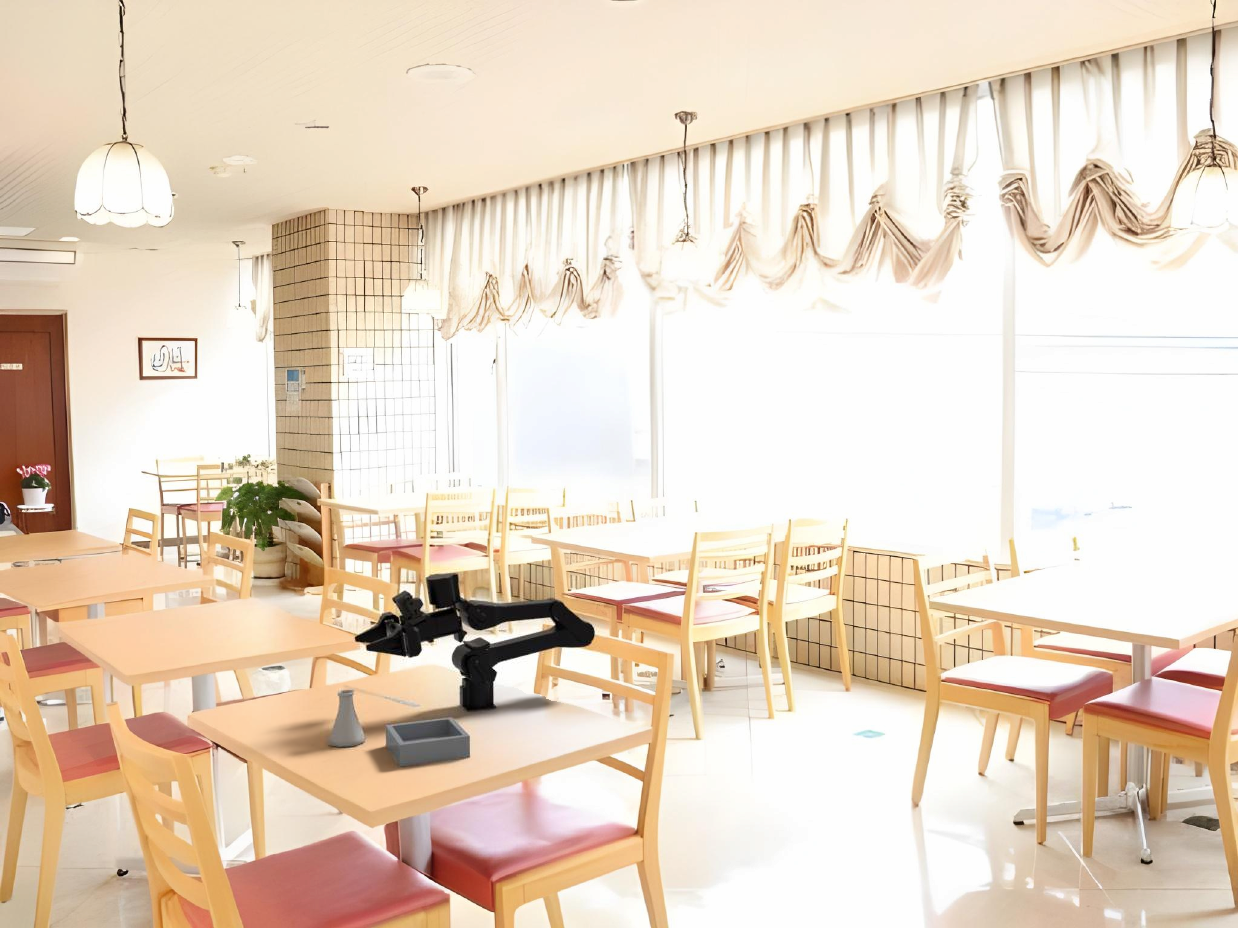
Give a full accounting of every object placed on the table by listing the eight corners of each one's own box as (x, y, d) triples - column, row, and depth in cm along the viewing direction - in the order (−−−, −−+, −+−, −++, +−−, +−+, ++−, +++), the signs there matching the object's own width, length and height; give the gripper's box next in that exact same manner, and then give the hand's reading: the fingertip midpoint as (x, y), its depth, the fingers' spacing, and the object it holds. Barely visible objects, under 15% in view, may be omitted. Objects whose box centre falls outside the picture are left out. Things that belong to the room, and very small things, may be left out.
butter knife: (411, 706, 227) (422, 702, 230) (337, 687, 245) (347, 684, 247) (411, 709, 227) (422, 705, 230) (337, 690, 245) (348, 686, 247)
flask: (371, 736, 207) (370, 686, 207) (358, 748, 200) (357, 696, 200) (335, 735, 208) (334, 686, 207) (321, 747, 201) (320, 696, 200)
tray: (452, 736, 207) (452, 717, 207) (470, 756, 195) (469, 735, 195) (386, 745, 202) (385, 725, 201) (400, 766, 190) (399, 744, 189)
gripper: (414, 582, 230) (343, 598, 223) (441, 595, 213) (365, 613, 206) (421, 631, 231) (351, 648, 224) (449, 648, 214) (374, 667, 207)
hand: (360, 643), depth 215 cm, fingers open, 9 cm apart
